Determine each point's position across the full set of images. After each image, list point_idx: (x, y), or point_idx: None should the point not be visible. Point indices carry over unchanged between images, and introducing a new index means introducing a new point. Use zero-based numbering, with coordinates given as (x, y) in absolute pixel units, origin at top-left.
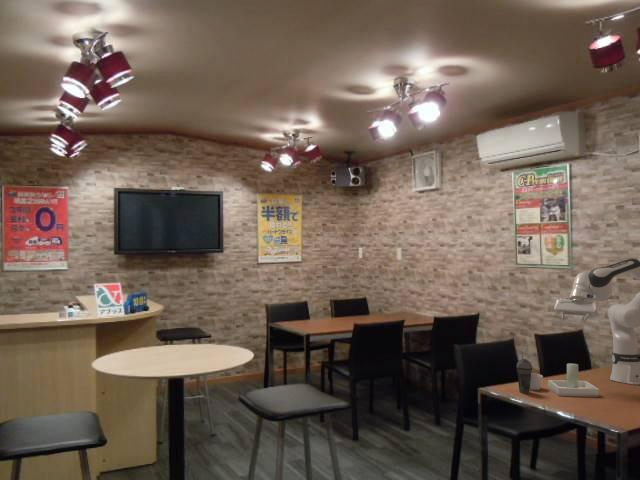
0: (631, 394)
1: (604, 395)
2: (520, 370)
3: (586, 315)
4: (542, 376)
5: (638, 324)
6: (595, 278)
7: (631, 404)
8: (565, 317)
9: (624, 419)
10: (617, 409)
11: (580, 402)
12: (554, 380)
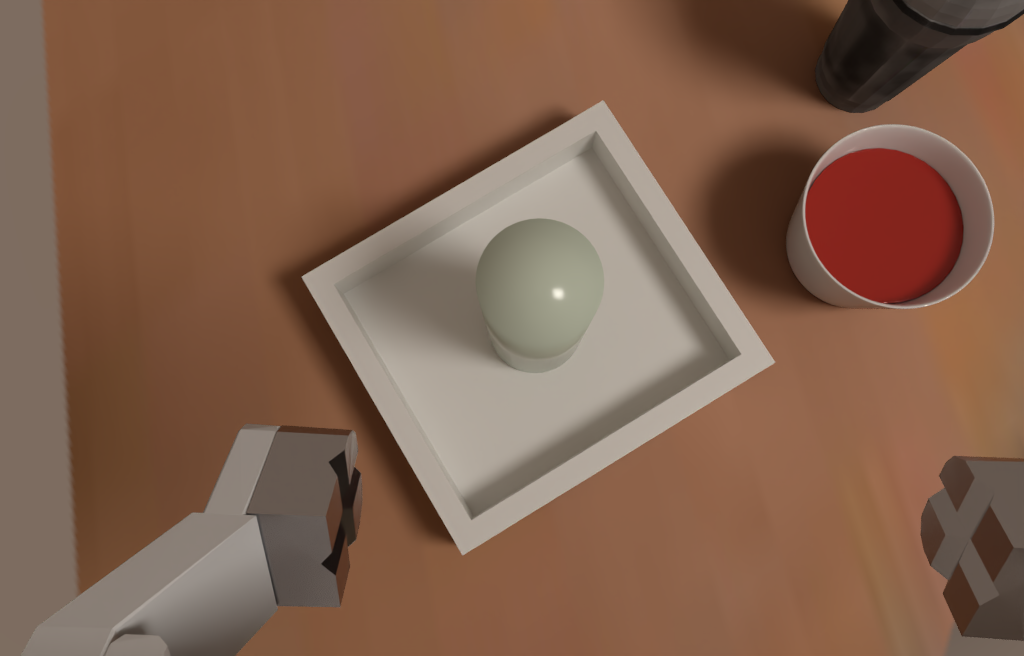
0: (98, 556)
1: (289, 371)
2: None
3: (150, 579)
4: (805, 224)
5: None
6: None
7: (75, 207)
8: (982, 594)
9: None
10: (150, 2)
11: (408, 32)
12: (720, 382)
